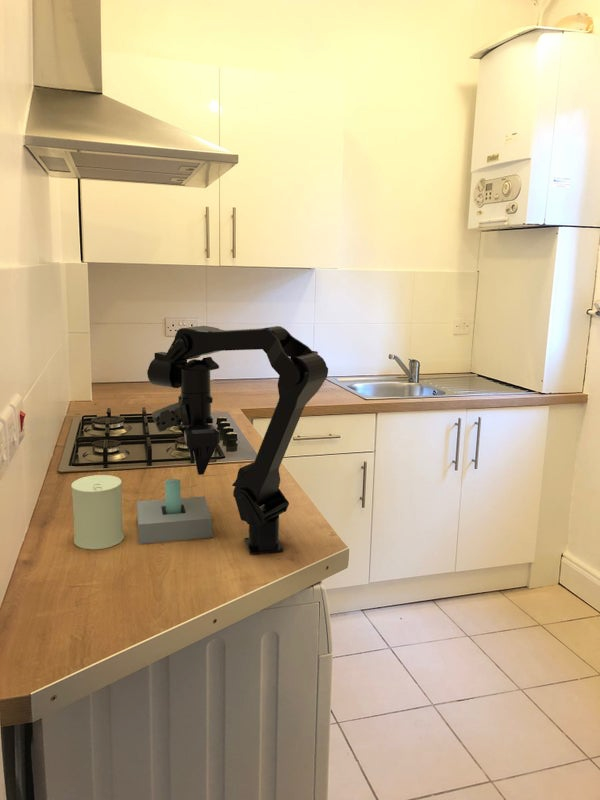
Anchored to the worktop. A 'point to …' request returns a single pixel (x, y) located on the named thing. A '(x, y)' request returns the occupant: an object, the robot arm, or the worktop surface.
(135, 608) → the worktop surface
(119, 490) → the can
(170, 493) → the peg
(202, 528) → the hole block
